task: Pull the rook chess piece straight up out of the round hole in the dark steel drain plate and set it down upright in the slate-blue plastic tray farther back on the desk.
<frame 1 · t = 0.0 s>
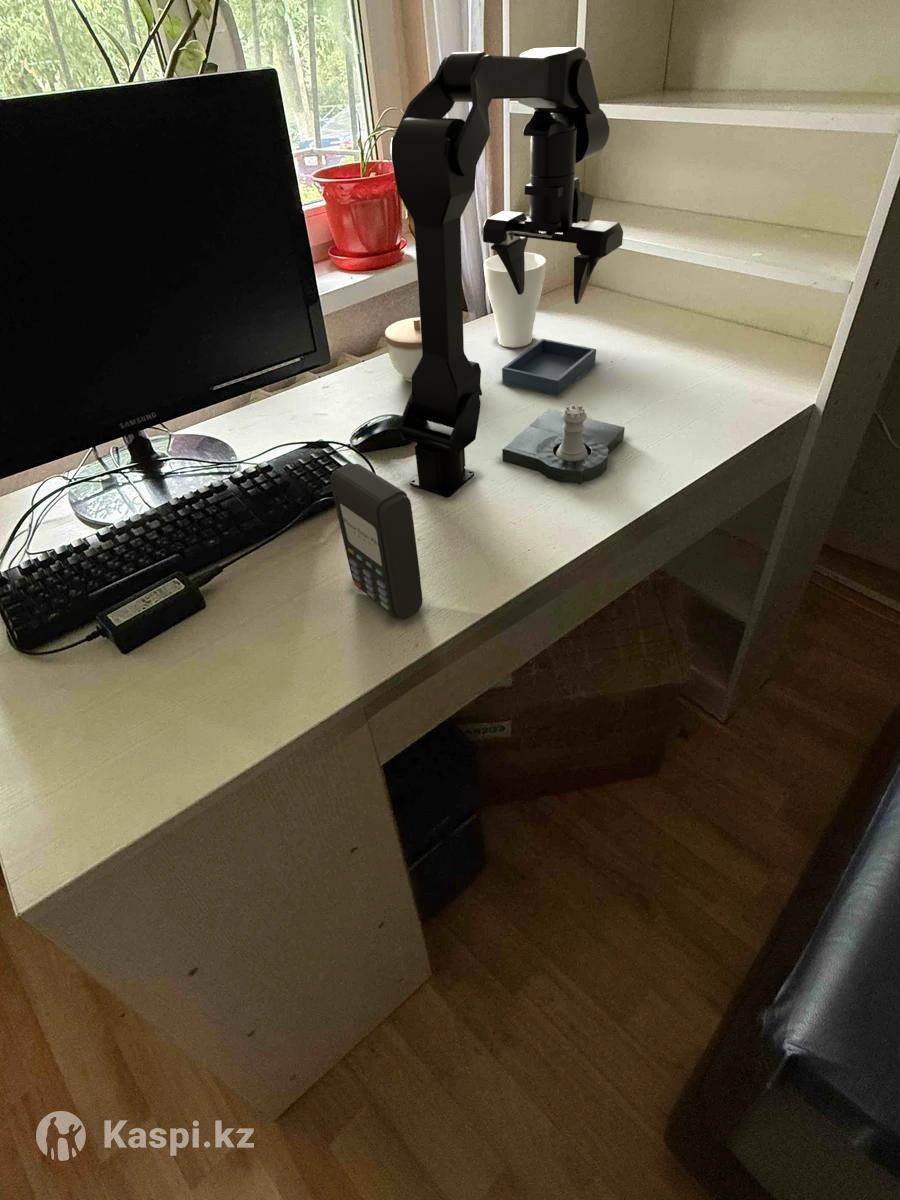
hand: (548, 298, 98), 15 cm above the table, tool pointing down, fingers open, 9 cm apart
drain plate: (563, 450, 95), on the table
rook chess piece: (571, 464, 93), resting in drain plate
tray: (549, 373, 113), on the table
trinket box: (422, 376, 116), on the table
card reader: (386, 598, 75), on the table
cup: (514, 342, 124), on the table
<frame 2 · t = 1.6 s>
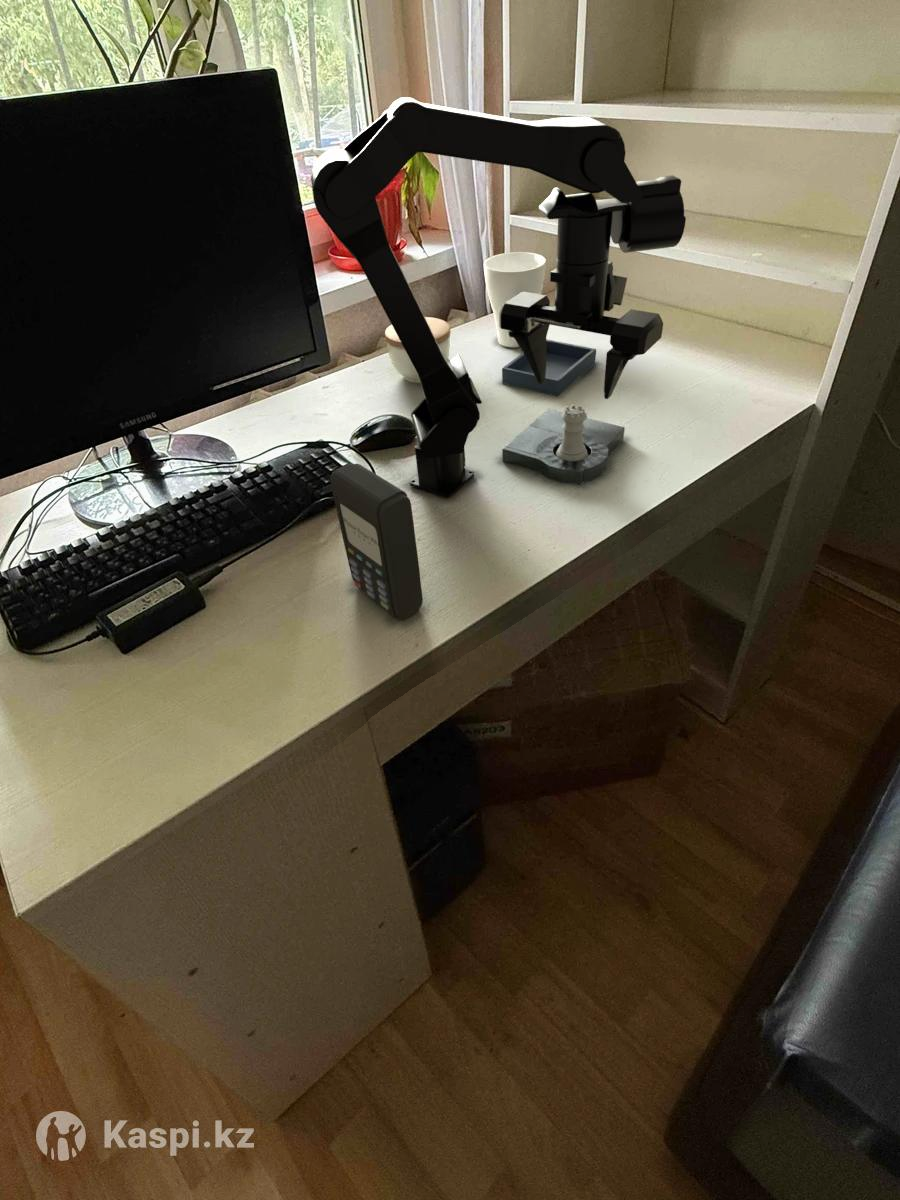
hand: (573, 389, 86), 10 cm above the table, tool pointing down, fingers open, 9 cm apart
nothing on the table moved.
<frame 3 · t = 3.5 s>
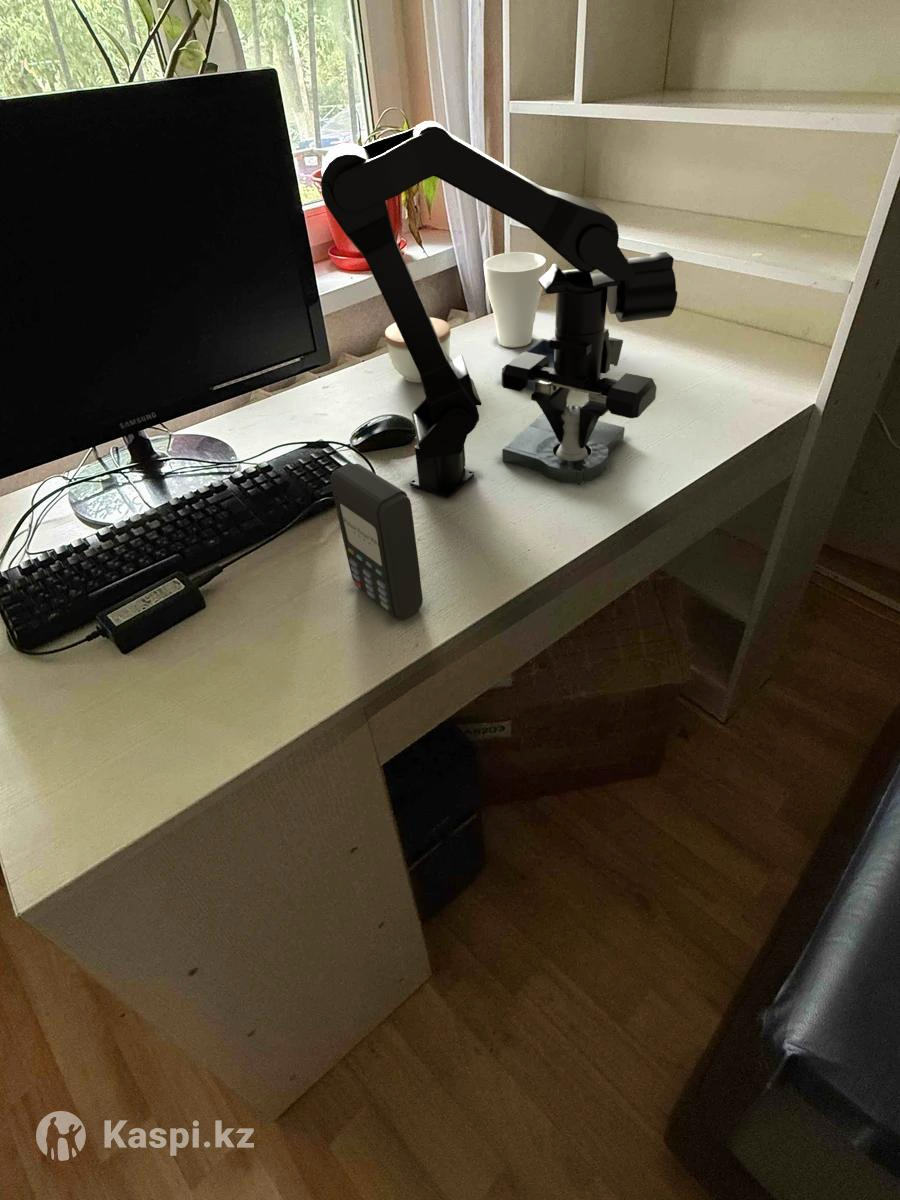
hand: (572, 444, 91), 3 cm above the table, tool pointing down, fingers closed on rook chess piece, 3 cm apart
rook chess piece: (571, 464, 93), resting in drain plate, touching gripper
everything else where it was.
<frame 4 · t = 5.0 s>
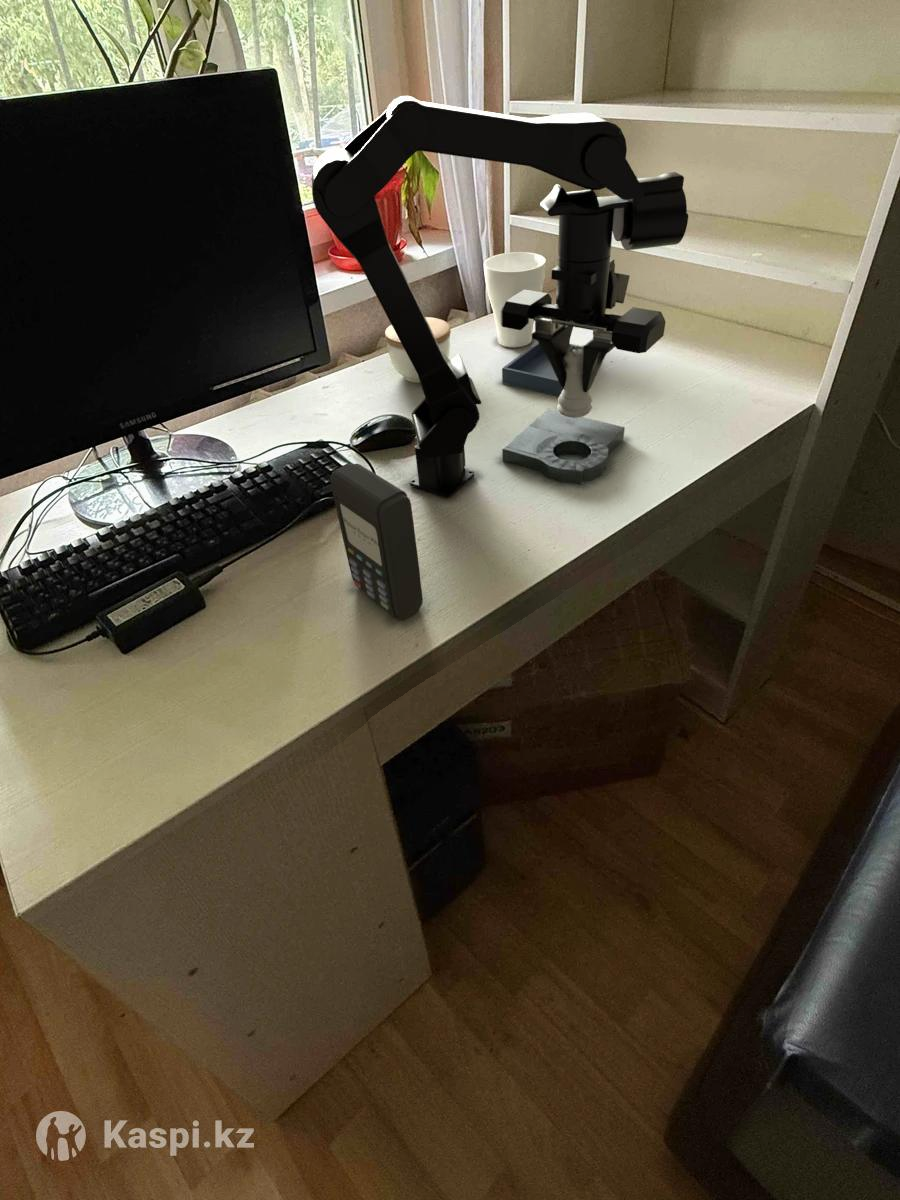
hand: (575, 388, 86), 11 cm above the table, tool pointing down, fingers closed on rook chess piece, 3 cm apart
rook chess piece: (574, 411, 88), point 7 cm above the table, touching gripper
everything else where it was.
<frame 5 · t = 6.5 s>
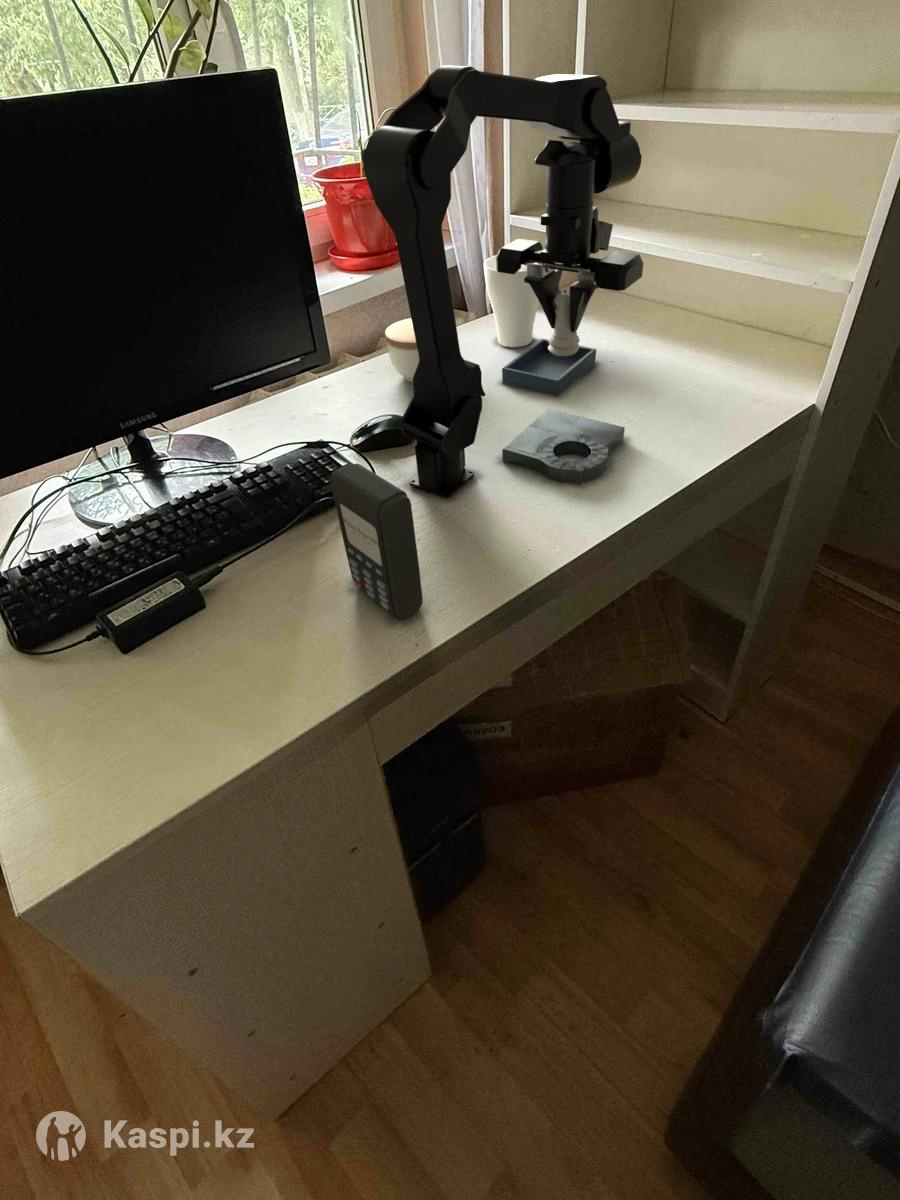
hand: (564, 329, 94), 13 cm above the table, tool pointing down, fingers closed on rook chess piece, 3 cm apart
rook chess piece: (563, 351, 97), point 9 cm above the table, touching gripper
everything else where it was.
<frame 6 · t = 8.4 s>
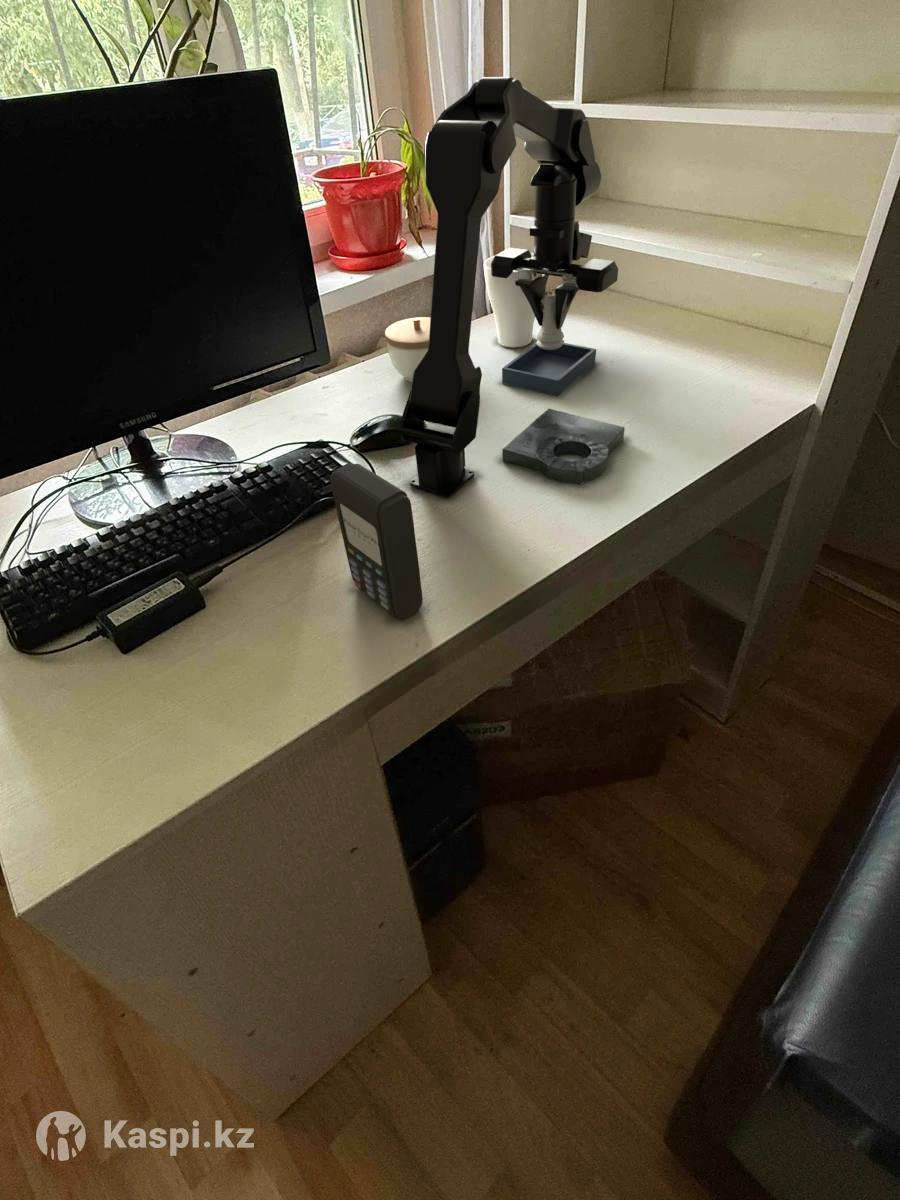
hand: (550, 326, 108), 8 cm above the table, tool pointing down, fingers closed on rook chess piece, 3 cm apart
rook chess piece: (550, 346, 110), point 5 cm above the table, touching gripper
everything else where it was.
when the fingers open (4 cm above the table, at t = 9.7 s): rook chess piece stays where it is, resting on tray.
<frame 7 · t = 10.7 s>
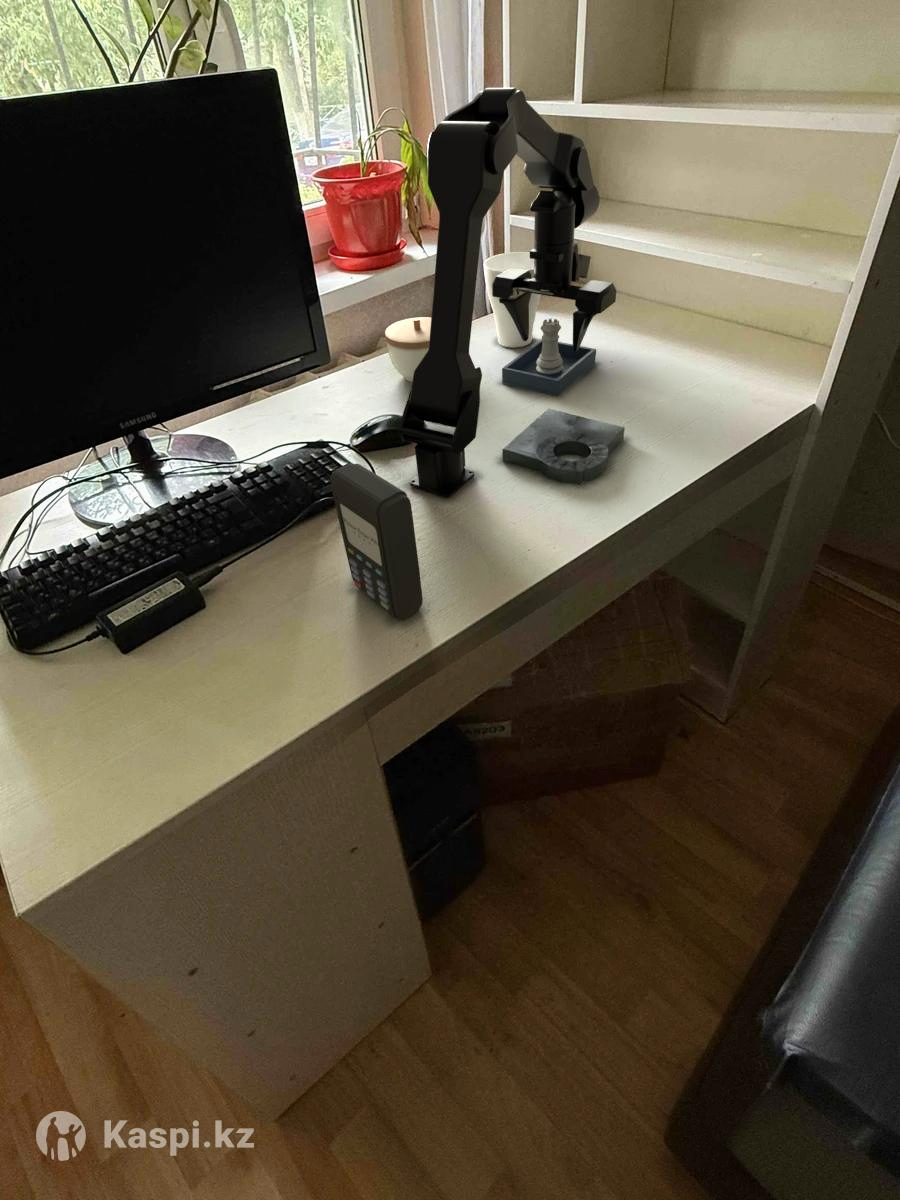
hand: (550, 345, 110), 5 cm above the table, tool pointing down, fingers open, 9 cm apart
rook chess piece: (549, 371, 113), resting on tray
everything else where it was.
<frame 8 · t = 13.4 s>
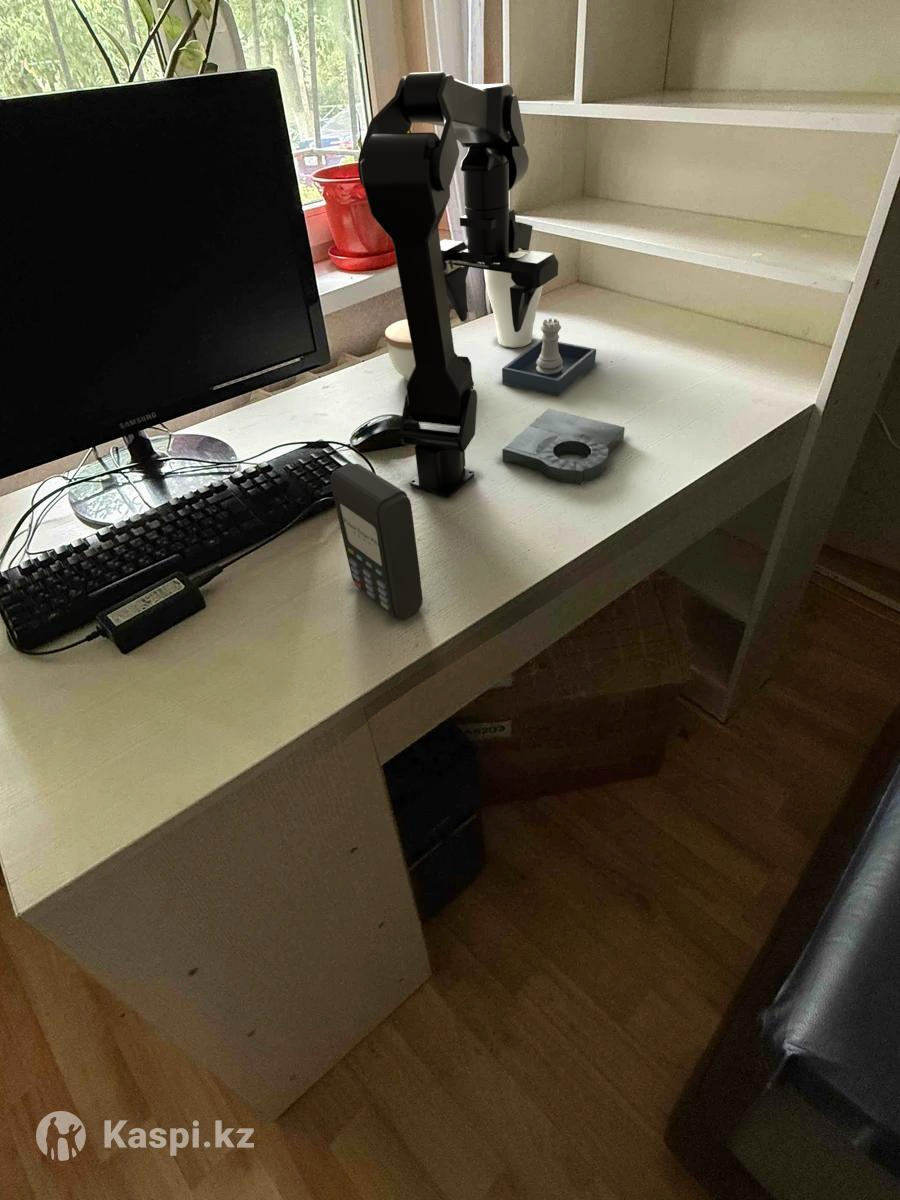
hand: (490, 325, 99), 12 cm above the table, tool pointing down, fingers open, 9 cm apart
nothing on the table moved.
at the end: rook chess piece inside the target area in the tray (0.1 cm from its centre), point 0.4 cm above the tray's base; rook chess piece tilted 0°; the gripper is holding nothing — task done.
